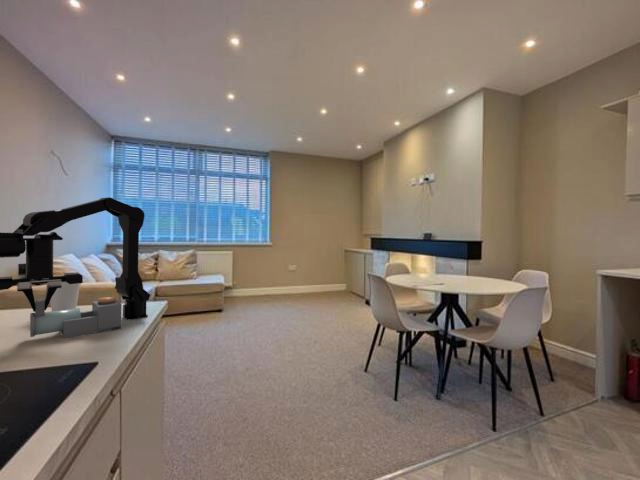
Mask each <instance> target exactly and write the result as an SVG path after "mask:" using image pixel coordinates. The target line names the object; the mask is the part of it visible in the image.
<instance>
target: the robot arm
mask: <svg viewBox="0 0 640 480" xmlns="http://www.w3.org/2000/svg"><path fill="white" fill-rule="evenodd" d="M105 211H106V212H107V213H109V214H111V216H113V217H117V220H118V224H119V227H120V229H121V231H122V271H121V274H120V276H119V277H118V276H117V277H115V278H114V280H115V286H114V289H115V290H116V292H117V294H118V295H120V296H121V299H122V300H124V304H123V305H122V317H123V318H124V319H126V321H130V320H131V321H132V320H137V319H142V318H148V317H149V315H148V314H147V302H148V301H149V300H150V299H151V298H150V297H151V293H149V292H148V291H147V290H146V289H144V284H143V279H142V277H141V275H140V273H139V250H140V249H139V248H140V247H139V245H140V244H139V243H140V242H139V237H140V234H139V233H140V231H141V230H142V228H143V226H144V221H145V211H144V210H142V208H140V207H138V206H132V205H130V204H127V203H125V202H122V201H119V200H117V199H115V198H113V197H110V196H109V197H108V196H107V197H101V198H99V199H97V200H96V199H95V200H92V201H88V202H85V203H80V204H77V205H72V206H70V207H65V208H61V209H53V210H44V211H43V210H41V211H34V212H33V211H32V212H29V213H27V214H24V215H25V216H24V217H23V218H22V223H21V224H20V225H19V226H18V227H17V228H16V229H15V230H14V231H13V232H0V259H1V258H3V259H5V258H19V257H20V256H21V255H22V254H23V255H24V254H25V263H18V265H17V267H18V268H17V270H18V271H17V272H18V274H17V275H18V276H19V277H22V278H13V275H12V276H11V275H10V276H0V291H3V290H9V289H11V287H15V286H16V289H17V290H16V292H22V293H23V294H24V295H25V297H26V298H27V300H28V302H29V304H30V306H31V309H32V311H33V313H35V311H36V306H35V300H36V299H35V297H34V290H33V286H32V285H41V284H42V285H43V284H46V288H45V294H44V295H45V296H44V301H45V311H46V310H47V309H48V306H49V305H50V300H51V298H52V296H53V294H54V293H55V291H56V290H57V288H62V286H61V283H62V282H67V283H69V284H78V283H81V284H83V283H84V281H83V279H84V278H83V274H81V273H80V272H77V271H76V272H63V275H56V276H54V241H63V240H64V238H63V236H60V235H59V234H58V233H57V232H56V231H54V230H56V229H58V228H60V227H63V226H64V225H65V224H67V223H69V222H71V221H73V220H78V219H81V218H85V217H87V216H90V215H94V214H98V213H101V212H105ZM49 232H50V233H49ZM40 233H43V234H40ZM44 233H48V234H44ZM24 236H25V237H24ZM30 236H31V237H30ZM33 236H34V237H33ZM23 276H24V277H25V278H24V277H23ZM47 283H48V284H47Z"/></svg>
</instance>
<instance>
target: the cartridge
mask: <svg viewBox="0 0 640 480" xmlns="http://www.w3.org/2000/svg"><path fill="white" fill-rule="evenodd" d="M34 300H35V306H36V311H35V312H31V313H30V314H29V335H30V336H29V337H30V338H33V337H35V336H40V335H45V334H51V333H57V332H60V331H63V321H65V320H71V319H78V318H81V312H82V311H81V308H80V307H78V308H77V307H76V309H68V310H60V311H52V310H51V311H46V310H45V301H44V300H45V298H39V299H37V298H36V299H34Z"/></svg>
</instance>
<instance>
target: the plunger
mask: <svg viewBox="0 0 640 480" xmlns="http://www.w3.org/2000/svg"><path fill="white" fill-rule="evenodd" d="M115 300H116V297H114V296H107V297H106V296H105V297H100V298H97V301H98V304H99V305H103V304H111V303H115Z"/></svg>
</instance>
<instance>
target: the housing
mask: <svg viewBox="0 0 640 480" xmlns="http://www.w3.org/2000/svg"><path fill="white" fill-rule="evenodd" d="M91 307H92V309H91V310H86V311H80V312H81V318H78V319H71V320H65V321H63V331H59V333H60V334H61V336H62V338H63V340H68V339H73V338H78V337H84V336H91V335H95V334H101V333H106V332H113V331H117V330H121V329H122V303H121V302H119V301H118V300H117V299H115V303H111V304H103V305H99V304H98V300H93V301H92V303H91Z"/></svg>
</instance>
